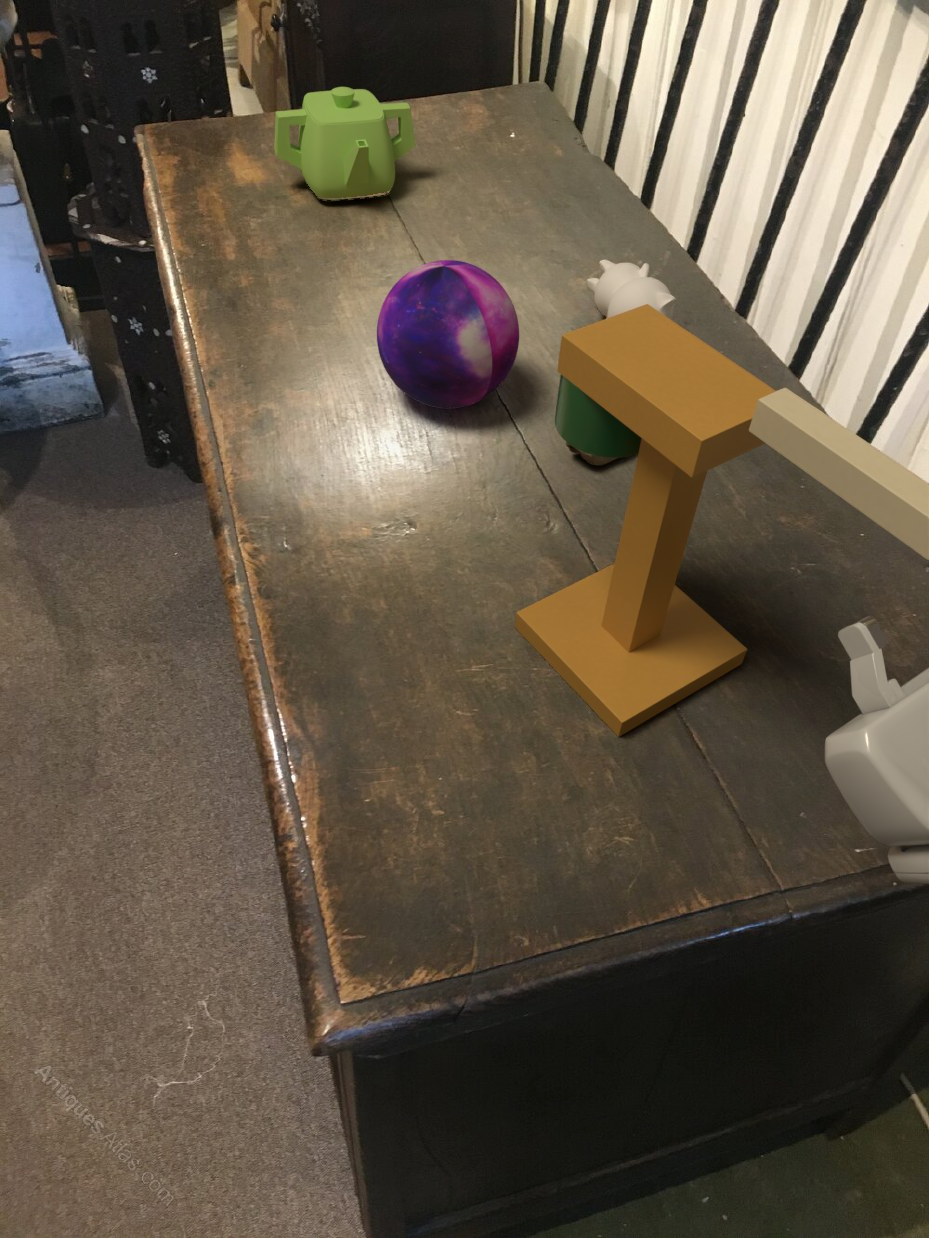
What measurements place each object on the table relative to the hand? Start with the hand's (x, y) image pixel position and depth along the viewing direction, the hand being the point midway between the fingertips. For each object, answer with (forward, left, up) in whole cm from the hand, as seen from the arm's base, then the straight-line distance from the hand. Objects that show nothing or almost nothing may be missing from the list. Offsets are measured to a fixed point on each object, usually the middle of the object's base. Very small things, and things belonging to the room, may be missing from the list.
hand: (907, 590), depth 56 cm
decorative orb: (+52, -27, -24) cm, 63 cm away
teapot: (+92, -59, -24) cm, 112 cm away
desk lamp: (+20, -7, -24) cm, 32 cm away
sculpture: (+32, -32, -24) cm, 51 cm away
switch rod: (+5, -2, +3) cm, 6 cm away
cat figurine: (+42, -52, -24) cm, 71 cm away
